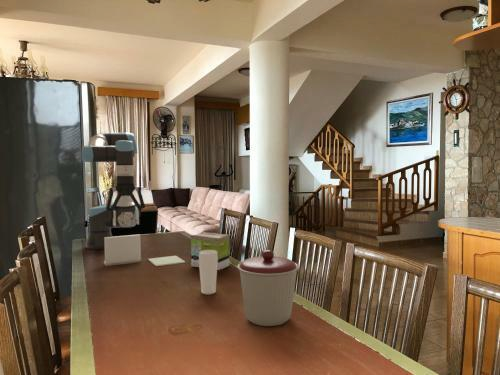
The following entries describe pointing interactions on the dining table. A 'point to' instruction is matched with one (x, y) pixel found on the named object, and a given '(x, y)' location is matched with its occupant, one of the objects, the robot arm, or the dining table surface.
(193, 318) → the dining table surface
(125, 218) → the game die
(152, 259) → the tile
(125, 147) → the robot arm
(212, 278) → the drinking glass
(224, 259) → the tea box
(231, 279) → the dining table surface
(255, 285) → the canister
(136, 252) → the screen
